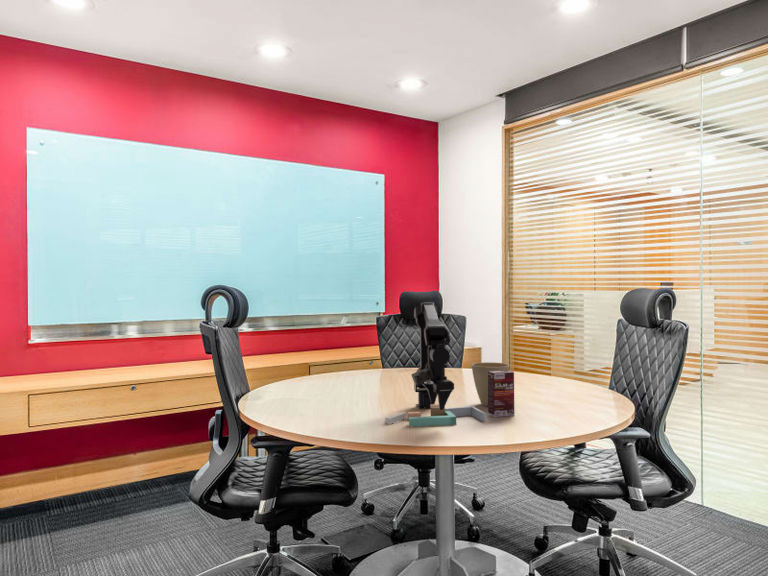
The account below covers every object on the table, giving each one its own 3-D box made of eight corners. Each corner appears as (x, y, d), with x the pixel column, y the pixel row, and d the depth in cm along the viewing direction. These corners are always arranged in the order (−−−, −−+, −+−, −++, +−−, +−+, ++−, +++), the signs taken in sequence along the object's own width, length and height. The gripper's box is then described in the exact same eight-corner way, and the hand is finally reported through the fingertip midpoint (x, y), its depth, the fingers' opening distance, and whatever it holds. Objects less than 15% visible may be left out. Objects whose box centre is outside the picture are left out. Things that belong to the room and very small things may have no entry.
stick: (385, 424, 187) (385, 417, 187) (401, 418, 196) (401, 412, 196) (390, 425, 186) (390, 418, 186) (406, 419, 194) (406, 412, 194)
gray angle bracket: (442, 416, 197) (442, 407, 197) (472, 413, 200) (471, 405, 200) (453, 423, 185) (453, 415, 185) (485, 421, 188) (485, 412, 188)
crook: (406, 420, 192) (405, 413, 192) (450, 418, 193) (450, 411, 194) (410, 427, 183) (409, 418, 183) (456, 424, 185) (456, 416, 185)
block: (430, 418, 194) (430, 404, 194) (444, 418, 194) (444, 404, 194) (430, 422, 189) (430, 407, 189) (445, 422, 189) (444, 407, 189)
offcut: (407, 419, 194) (407, 412, 194) (419, 418, 195) (419, 411, 195) (408, 420, 192) (408, 413, 192) (420, 419, 193) (420, 412, 193)
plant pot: (510, 409, 206) (509, 367, 206) (471, 408, 209) (470, 367, 209) (509, 401, 221) (508, 362, 221) (472, 400, 224) (472, 361, 224)
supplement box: (494, 417, 193) (493, 373, 193) (487, 414, 198) (486, 371, 198) (515, 415, 196) (514, 371, 196) (508, 412, 200) (507, 370, 200)
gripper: (406, 359, 192) (407, 403, 192) (421, 366, 174) (422, 414, 174) (436, 357, 195) (436, 401, 195) (454, 364, 177) (455, 412, 177)
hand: (437, 406), depth 185 cm, fingers open, 9 cm apart
